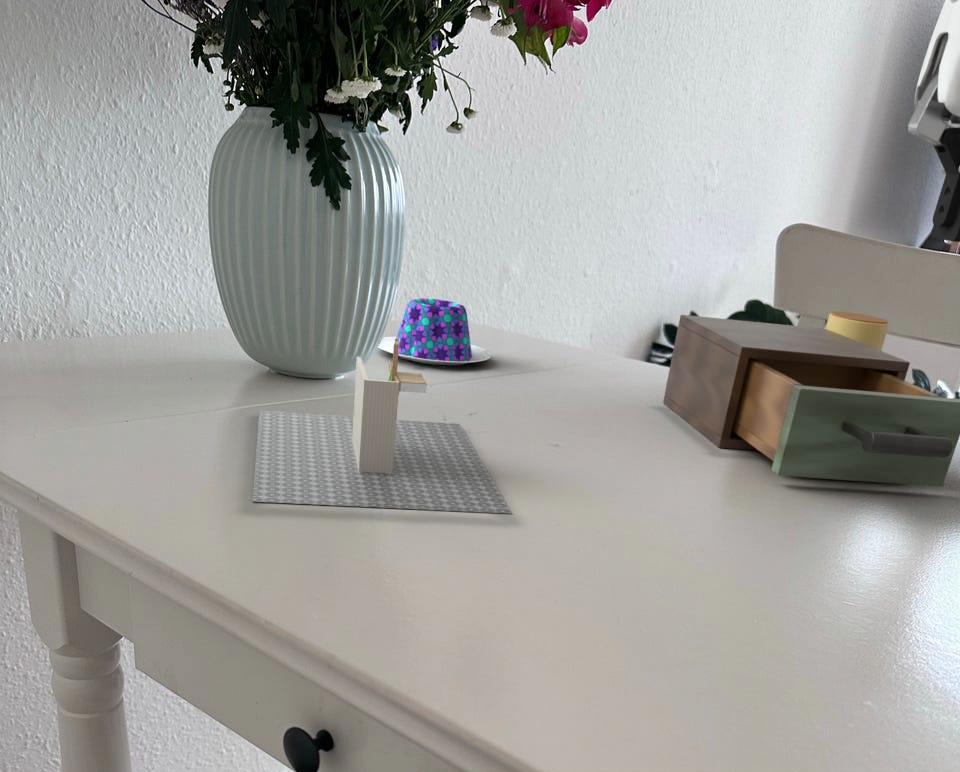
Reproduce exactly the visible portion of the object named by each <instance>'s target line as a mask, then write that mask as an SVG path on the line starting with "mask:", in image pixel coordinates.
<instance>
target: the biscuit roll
mask: <svg viewBox="0 0 960 772" xmlns="http://www.w3.org/2000/svg"><path fill="white" fill-rule="evenodd" d="M889 326H890V322H889V321H888V320H887V319H885V318H882V317H878V316H873V315H869V314H863V313H857V312H849V311H832V312H831V313H829V315H828V319H827V322H826V326H825V329H828V330H830V331H833V332H835V333H838V334H840V335H843V336H845V337H848V338H850V339H853V340H855V341H858V342H860V343H863V344H865V345H868V346H870V347H873V348H875V349H878V350H880V351H883V347H884V344H885V340H886V336H887V333H888V330H889Z"/></svg>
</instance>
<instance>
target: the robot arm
mask: <svg viewBox="0 0 960 772" xmlns="http://www.w3.org/2000/svg"><path fill="white" fill-rule="evenodd" d="M931 35H932V36H931V38H930V41H929V44H928V47H927V50H926V53H925V56H924V59H923V63H922V65H921V70H920V72H919V77H918V81H917V84H916V89H915V94H914V107H915V110H914V112H913V114H912V116H911V118H910V120H909V122H908V123H907V124H908V125H907V131H908V132H909V134H910V135H913V136H914V137H917V138H919V139H920V140H922V141H924V142H926V143H929V144H931V145H932V146H933V148H934V150H935V152H936V154H937V157H938V159H939V161H940V164H939V170H940V172H941V174H943V175H945V176H944V180H943V182H942V186H941V190H940V192H939V195H938V199H937V202H936V205H935V208H934V213H933V216H932V224H933V225H932V228H931V232H930V237H931V238H932V239H937V240H942V241H947V242H956V243H960V0H945V1H944V3H943V5H942V8H941V11H940V13H939V16H938V18H937V21H936V23H935V27H934V29H933V32H932V34H931Z"/></svg>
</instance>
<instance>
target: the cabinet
mask: <svg viewBox="0 0 960 772" xmlns="http://www.w3.org/2000/svg"><path fill="white" fill-rule="evenodd" d="M749 358H756V359H767V360H778V361H789V362H800V363H811V364H822V365H833V366H844V367H855V368H866V369H877V370H881V371H883V372H886V373H888V374H890V375H893V376H895V377H897V378H899V379H902V380H904V381H906V378H907V374H908V373H907V372H908V371H909V368H910V365H911V362H910V361H907V360H905V359H902V358H900V357H898V356H895V355H893V354H890V353H888V352H885V351H883V350H881V351H880V350H878V349H875V348H873V347H870V346H868V345H865V344H863V343H860V342H858V341H855V340H853V339H850V338H848V337H845V336H843V335H840V334H838V333H835V332H833V331H830V330H828V329H826V328H820V327H810V326H800V325H792V324H791V325H789V324H779V323H770V322H769V323H768V322H759V321H750V320H739V319H731V318H719V317H708V316H700V315H699V316H698V315H688V314H680V316H679V321H678V326H677V331H676V335H675V339H674V346H673V349H672V355H671V360H670V365H669V369H668V375H667V381H666V384H665V391H664V396H663V399H662V403H663V404H664V405H665V406H667V408H669V409H670V410H671V411H673V412H674V413H675V414H676V415H678V416H679V417H680V418H681V419H683V420H684V421H685V422H687V424H689V425H690V426H691V427H692V428H693V429H695V430H696V431H698V432H699V433H700V435H702V436H704V437H705V438H706V439H707V440H709V441H710V442H711V443H712V444H714V445H715V446H716V447H717V448H718V449H731V450H744V451H745V450H746V451H759V450H757V449H756V448H755V447H753V446H752V445H751V444H749V443H748V442H747V441H745V440H744V439H743V438H741V437H740V436H738V435H737V434H736V433H734V432H733V431H732V427H733V423H734V419H735V414H736V410H737V406H738V402H739V398H740V393H741V389H742V385H743V381H744V376H745V372H746V368H747V364H748V359H749ZM759 452H760V451H759Z"/></svg>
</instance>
